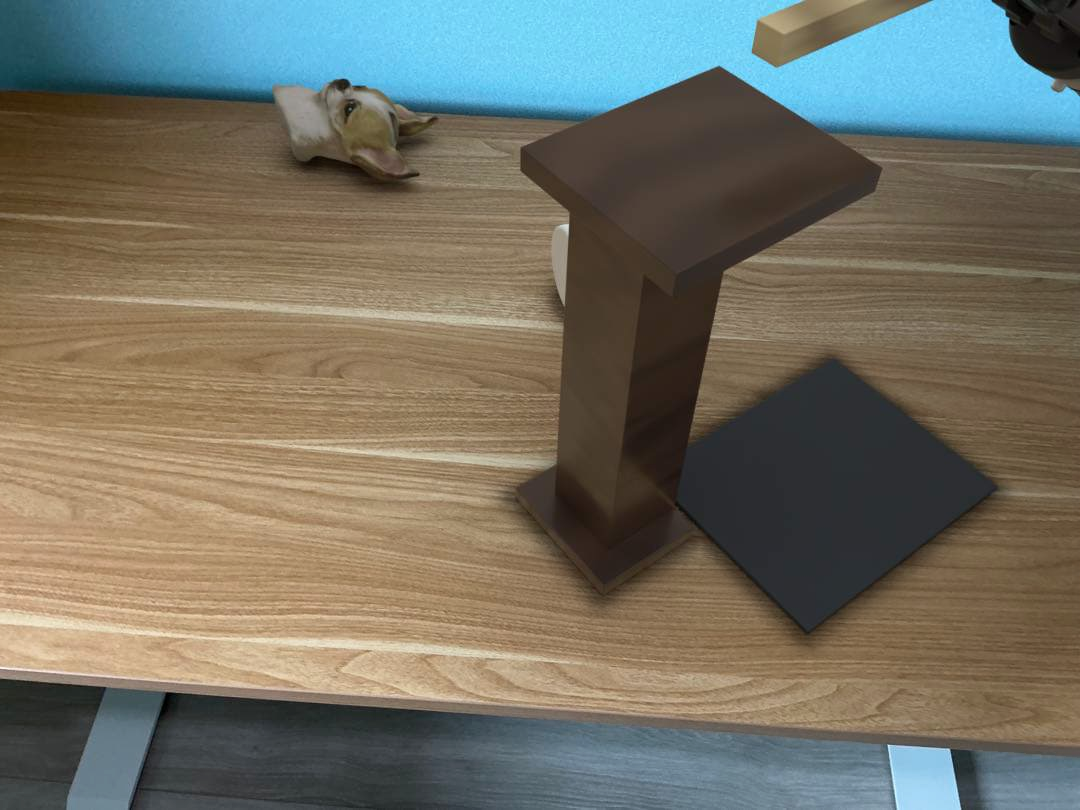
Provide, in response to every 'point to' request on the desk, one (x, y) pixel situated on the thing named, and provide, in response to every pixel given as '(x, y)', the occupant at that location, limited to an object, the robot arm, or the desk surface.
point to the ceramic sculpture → (349, 126)
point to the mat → (824, 491)
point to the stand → (660, 291)
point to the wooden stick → (819, 25)
